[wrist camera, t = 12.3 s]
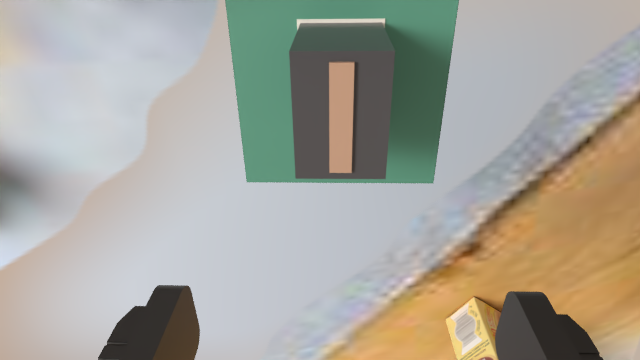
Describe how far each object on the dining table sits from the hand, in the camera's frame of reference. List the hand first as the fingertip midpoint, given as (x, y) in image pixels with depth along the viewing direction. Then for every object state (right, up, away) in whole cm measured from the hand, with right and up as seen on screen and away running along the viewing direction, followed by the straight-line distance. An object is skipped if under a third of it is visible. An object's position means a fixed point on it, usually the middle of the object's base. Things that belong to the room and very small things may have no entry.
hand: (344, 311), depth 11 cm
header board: (+1, +11, +18) cm, 21 cm away
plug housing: (+1, +10, +17) cm, 20 cm away
